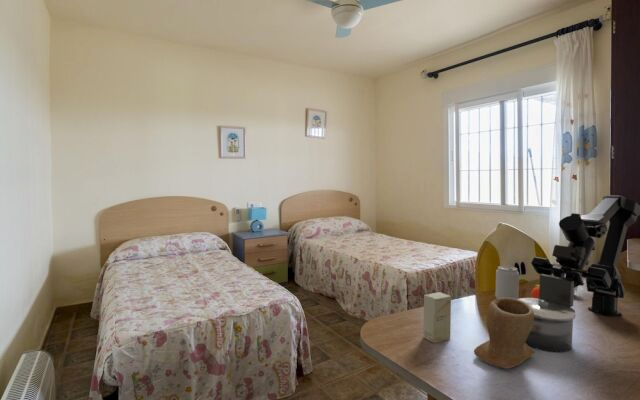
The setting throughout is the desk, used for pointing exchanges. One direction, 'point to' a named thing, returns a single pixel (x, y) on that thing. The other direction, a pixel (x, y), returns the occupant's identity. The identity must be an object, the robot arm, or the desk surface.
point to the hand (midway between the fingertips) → (557, 295)
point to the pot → (551, 335)
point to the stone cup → (507, 333)
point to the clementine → (535, 292)
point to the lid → (553, 299)
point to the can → (507, 282)
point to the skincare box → (437, 317)
